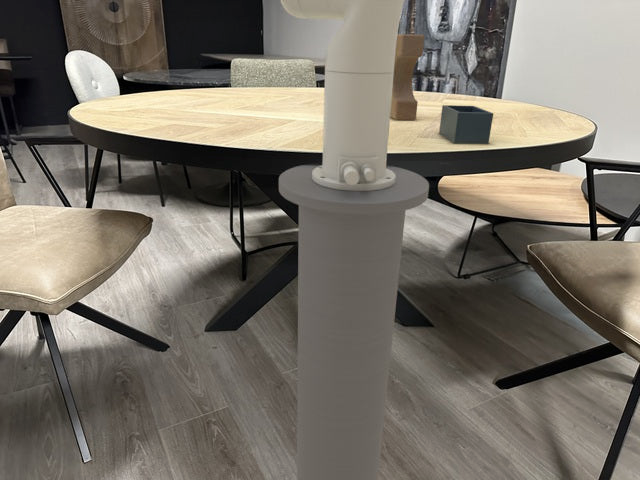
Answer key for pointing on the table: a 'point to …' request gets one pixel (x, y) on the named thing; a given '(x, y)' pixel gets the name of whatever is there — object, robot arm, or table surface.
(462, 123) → the box
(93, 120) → the table surface
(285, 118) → the table surface
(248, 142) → the table surface
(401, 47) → the decorative block
